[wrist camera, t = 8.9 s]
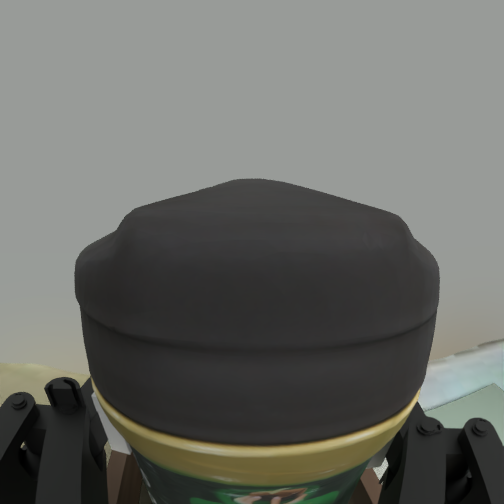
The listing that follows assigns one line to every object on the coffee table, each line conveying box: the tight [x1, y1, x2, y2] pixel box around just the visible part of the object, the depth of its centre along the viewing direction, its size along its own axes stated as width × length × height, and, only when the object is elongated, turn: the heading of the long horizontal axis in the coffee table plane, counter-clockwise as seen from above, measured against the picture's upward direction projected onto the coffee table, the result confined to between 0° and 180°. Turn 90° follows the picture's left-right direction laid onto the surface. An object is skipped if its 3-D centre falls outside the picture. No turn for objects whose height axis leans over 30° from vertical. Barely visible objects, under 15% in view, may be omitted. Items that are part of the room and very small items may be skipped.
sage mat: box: [424, 383, 504, 446], centre depth 14 cm, size 14×14×1 cm
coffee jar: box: [75, 179, 440, 504], centre depth 10 cm, size 10×8×19 cm
